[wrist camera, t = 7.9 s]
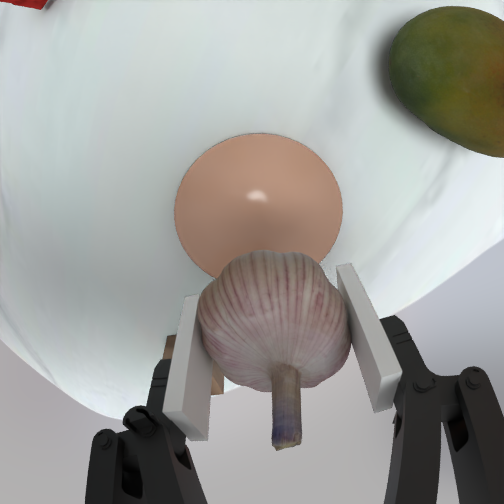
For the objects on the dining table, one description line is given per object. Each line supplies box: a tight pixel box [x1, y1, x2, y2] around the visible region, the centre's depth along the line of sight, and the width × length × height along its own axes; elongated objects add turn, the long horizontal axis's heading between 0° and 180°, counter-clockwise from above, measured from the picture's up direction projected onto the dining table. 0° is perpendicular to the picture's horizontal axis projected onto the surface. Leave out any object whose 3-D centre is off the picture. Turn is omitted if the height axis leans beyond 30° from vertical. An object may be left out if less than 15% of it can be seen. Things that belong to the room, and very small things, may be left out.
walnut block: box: [163, 335, 224, 395], centre depth 30 cm, size 5×5×5 cm
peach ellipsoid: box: [174, 134, 343, 279], centre depth 24 cm, size 13×13×1 cm
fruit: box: [389, 6, 504, 158], centre depth 14 cm, size 12×13×10 cm
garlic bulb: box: [198, 250, 351, 451], centre depth 12 cm, size 8×7×8 cm
